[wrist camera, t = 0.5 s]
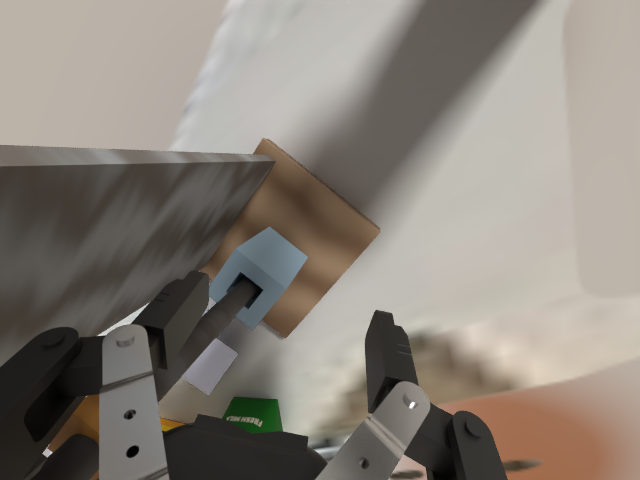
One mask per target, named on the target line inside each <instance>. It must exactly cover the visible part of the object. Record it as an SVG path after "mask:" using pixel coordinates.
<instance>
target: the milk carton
mask: <svg viewBox="0 0 640 480" xmlns="http://www.w3.org/2000/svg"><path fill="white" fill-rule="evenodd" d="M222 419H225V420H227V421H229V422H231V423H233V424H235V425H236V426H238V427H240V428H242V429H244V430H246V431H248V432H250V433H264V432H277V431H283V429H282V423H281V417H280V411H279V406H278V400H276V399H258V398H239V397H234V398H233V399H232V401H231V403H230V405H229V407H228V409H227V410H226V412H225V414H224V416H223V418H222Z"/></svg>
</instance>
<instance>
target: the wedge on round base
mask: <svg viewBox="0 0 640 480" xmlns="http://www.w3.org/2000/svg"><path fill="white" fill-rule="evenodd" d="M206 312H207V310H205V312H204V314H205V313H206ZM204 314H203V315H204ZM203 315H202V316H203ZM237 355H238V353H237V352H235V351H234V350H232V349H231V348H230V347H228V346H227V345H225V344H224V343H222V342H221V341H220V340H218V339H217V338H215V339H214V340H213V341H212V343H211V344H210V345H209V346H208V347H207V348H206V349H205V350H204V352H203V353H202V354H201V355H200V356H199V357H198V358H197V359H196V361H195V362H194V363H193V364H192V365H191V366H190V367H189V368H188V370H187V371H186V372H185V373H184V374H183V375H182V376H181V377H182V378H183V379H184V380H186V381H187V382H189V383H190V384H191V385H193V386H194V387H196V388H197V389H199V390H200V391H201V392H203V393H204V394H206V395H207V396H208V395H209V394H210V393H211V392H212V390H213V389H214V387H215V386H216V385H217V383H218V382H219V380H220V379H221V377H222V376H223V375H224V373H225V372H226V370H227V369H228V368H229V366H230V365H231V363H232V362H233V361H234V359H235V358H236V356H237Z"/></svg>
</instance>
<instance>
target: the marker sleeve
mask: <svg viewBox="0 0 640 480" xmlns="http://www.w3.org/2000/svg"><path fill="white" fill-rule="evenodd" d="M307 258H308V257H307V256H306V255H305V254H304V253H302V252H301V251H300V250H299V249H297V248H296V247H295V246H294V245H292V244H291V243H290V242H289V241H287V240H286V239H285V238H284V237H282V236H281V235H280V234H278V233H277V232H276V231H275V230H273V229H272V228H271V227H268V228H266V229H265V230H263V231H262V232H260V233H259V234H257V235H256V236H254V237H252V238H251V239H249V240H248V241H246V242H245V243H243V244H242V245H240V246H238V247H237V248H235V250H234V251H233V253H232V254H231V256H230V257H229V258H228V260H227V261H226V263H225V264H224V266H223V267H222V269H221V270H220V271H219V273H218V274H217V276H216V277H215V279H214V280H213V281H212V283H211V284H210V286H209V297H210V298H212V299H213V300H214V301H215V302H218V301H220V300H221V299H222V298H223V297H224V296H225V295H226V294H227V293H228V292H229V291H230V290H232V289H233V288H234V287H235V286H236V285H237V284H238V283H239V282H240V281H241V280H243V279H244V278H245V277H248V278H249V279H250V280H252V281H253V282H254V283H255V284H257V285H258V286H259V287H260V289H259V290H258V291H257V292H256V293H255V294H254V295H253V296H252V298H251V299H250V300H249V301H248V302H247V303H246V304H245V305H244V307H243V308H242V309H241V310H240V311H239V312H238V313H237V314H236V316H235V317H236V318H237V319H239V320H240V321H241V322H242V323H244V324H245V325H246V326H248V327H249V328H250V329H251V330H253V329H254V328H255V327H256V326H257V325H258V323H259V322H260V321H261V320H262V318H263V317H264V316H265V315H266V314H267V312H268V311H269V310H270V309H271V308H272V306H273V305H274V304H275V303H276V301H277V300H278V299H279V298H280V297H281V295H282V294H283V293H284V292H285V290H286V289H287V288H288V286H289V285H290V283H291V282H292V280H293V279H294V277H295V276H296V275H297V273H298V272H299V270H300V269H301V267H302V266H303V264H304V263H305V261H306V260H307Z"/></svg>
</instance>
